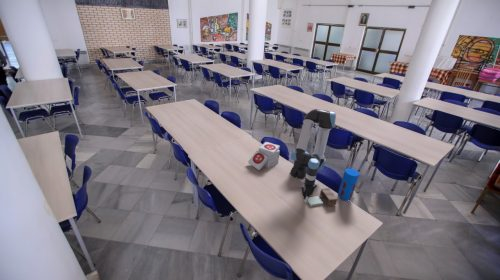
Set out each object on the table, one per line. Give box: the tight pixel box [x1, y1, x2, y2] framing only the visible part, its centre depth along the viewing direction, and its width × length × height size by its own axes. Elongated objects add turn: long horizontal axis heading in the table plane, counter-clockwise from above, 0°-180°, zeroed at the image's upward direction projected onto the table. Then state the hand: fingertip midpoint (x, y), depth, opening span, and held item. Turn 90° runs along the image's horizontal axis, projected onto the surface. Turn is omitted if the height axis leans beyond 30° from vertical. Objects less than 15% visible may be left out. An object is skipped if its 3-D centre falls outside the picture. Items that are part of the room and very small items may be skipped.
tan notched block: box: [319, 187, 338, 207], centre depth 192 cm, size 13×7×7 cm, turn 14°
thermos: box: [337, 167, 360, 202], centre depth 193 cm, size 11×11×25 cm
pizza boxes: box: [247, 141, 281, 171], centre depth 231 cm, size 19×30×18 cm, turn 131°
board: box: [307, 195, 324, 207], centre depth 190 cm, size 8×11×2 cm
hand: (305, 201), depth 188 cm, fingers closed
